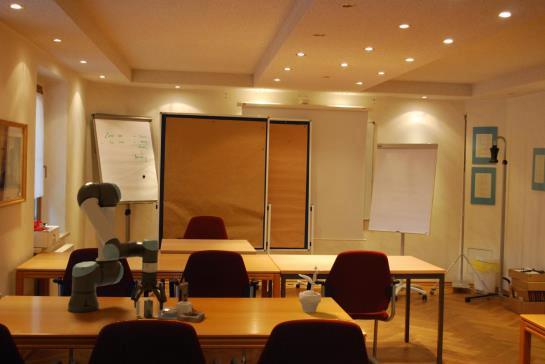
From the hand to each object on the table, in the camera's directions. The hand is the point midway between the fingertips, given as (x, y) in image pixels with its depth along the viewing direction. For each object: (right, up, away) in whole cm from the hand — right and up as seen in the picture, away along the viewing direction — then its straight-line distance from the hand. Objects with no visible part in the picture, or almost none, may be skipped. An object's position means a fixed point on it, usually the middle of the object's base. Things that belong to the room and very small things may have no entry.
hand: (148, 315), depth 273 cm
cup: (+16, -1, +6) cm, 17 cm away
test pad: (+10, +1, +3) cm, 10 cm away
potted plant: (+80, -3, +22) cm, 83 cm away
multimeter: (+17, -1, +19) cm, 26 cm away
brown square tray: (+21, -1, 0) cm, 21 cm away
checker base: (+10, -1, +3) cm, 10 cm away
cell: (0, -1, 0) cm, 1 cm away
